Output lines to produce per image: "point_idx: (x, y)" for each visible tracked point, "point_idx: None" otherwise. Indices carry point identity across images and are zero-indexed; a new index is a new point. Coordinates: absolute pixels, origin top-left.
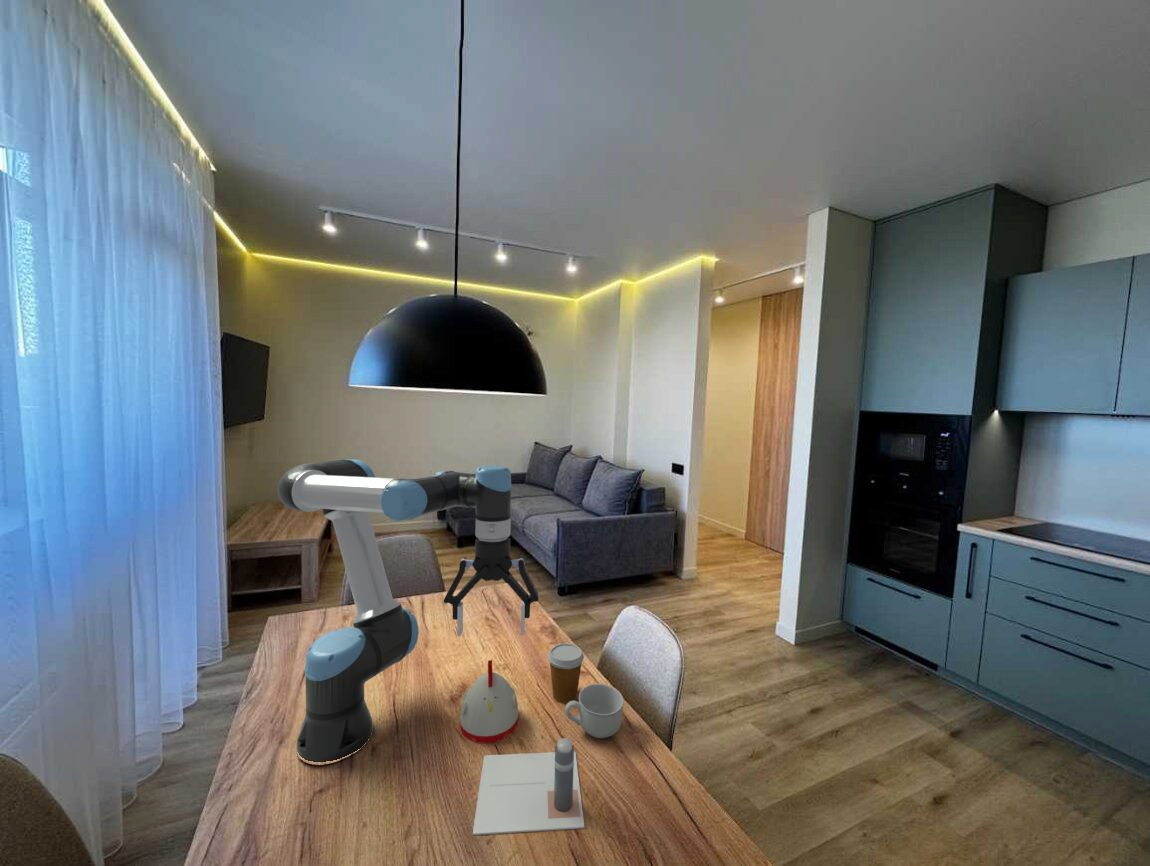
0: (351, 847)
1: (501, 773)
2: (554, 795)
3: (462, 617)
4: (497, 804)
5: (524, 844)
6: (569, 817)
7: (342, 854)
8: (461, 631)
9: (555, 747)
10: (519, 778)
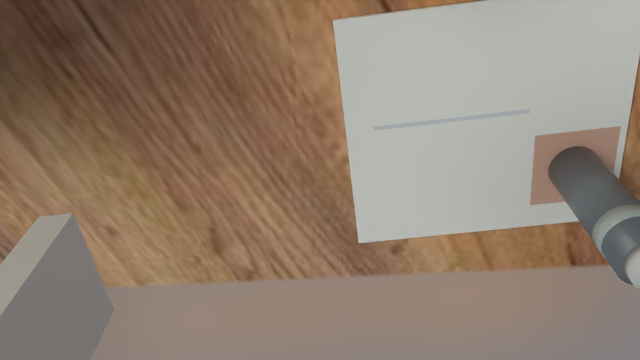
0: (119, 272)
1: (400, 86)
2: (559, 190)
3: (11, 351)
4: (403, 178)
5: (472, 251)
6: None
7: (112, 284)
8: (92, 300)
9: (618, 258)
10: (456, 101)
